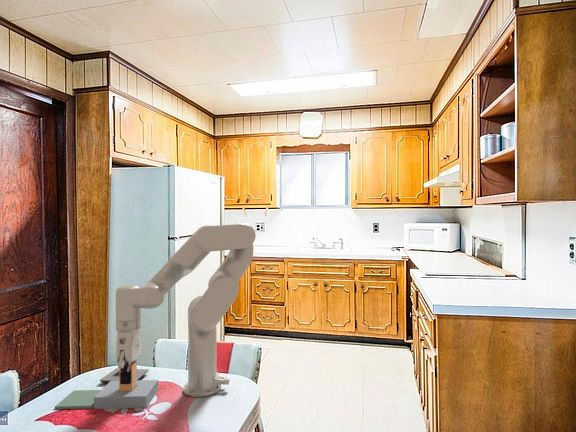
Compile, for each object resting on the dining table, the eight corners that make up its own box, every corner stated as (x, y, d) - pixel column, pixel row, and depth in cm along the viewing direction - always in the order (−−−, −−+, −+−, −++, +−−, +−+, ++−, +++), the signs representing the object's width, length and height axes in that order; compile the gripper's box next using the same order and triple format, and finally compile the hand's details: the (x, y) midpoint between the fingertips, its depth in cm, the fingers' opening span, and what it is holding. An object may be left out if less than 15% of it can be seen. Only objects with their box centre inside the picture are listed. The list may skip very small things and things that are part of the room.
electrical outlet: (149, 374, 141) (149, 368, 141) (135, 387, 131) (135, 380, 131) (116, 373, 142) (116, 367, 142) (99, 385, 132) (99, 379, 132)
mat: (106, 392, 126) (106, 389, 126) (91, 408, 115) (91, 405, 115) (73, 392, 125) (73, 390, 126) (54, 409, 114) (54, 406, 115)
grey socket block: (158, 390, 127) (158, 379, 127) (146, 407, 115) (146, 396, 115) (110, 391, 127) (110, 380, 127) (93, 408, 115) (93, 397, 115)
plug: (136, 390, 123) (136, 357, 123) (131, 396, 119) (132, 361, 119) (124, 391, 123) (124, 357, 123) (119, 396, 119) (119, 362, 119)
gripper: (130, 331, 113) (130, 392, 113) (148, 317, 130) (148, 370, 130) (105, 332, 113) (105, 392, 113) (126, 317, 130) (126, 370, 129)
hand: (128, 380), depth 121 cm, fingers closed on plug, 4 cm apart
